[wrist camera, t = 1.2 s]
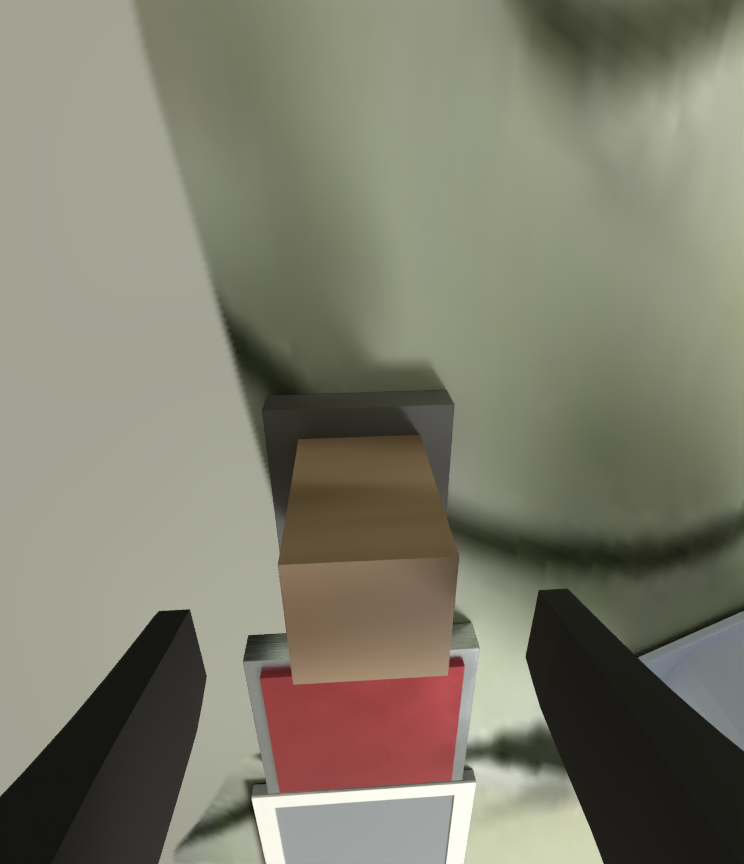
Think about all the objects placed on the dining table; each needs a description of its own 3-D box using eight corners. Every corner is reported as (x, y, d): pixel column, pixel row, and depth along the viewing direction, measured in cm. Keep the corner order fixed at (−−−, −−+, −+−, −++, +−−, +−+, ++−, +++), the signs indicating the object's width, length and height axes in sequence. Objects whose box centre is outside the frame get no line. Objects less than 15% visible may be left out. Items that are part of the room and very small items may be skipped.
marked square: (457, 873, 30) (459, 885, 29) (275, 887, 29) (274, 900, 29) (473, 769, 25) (475, 782, 24) (253, 784, 24) (251, 798, 24)
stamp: (437, 530, 18) (484, 699, 12) (284, 536, 17) (256, 713, 12) (446, 388, 15) (512, 515, 9) (267, 394, 15) (221, 528, 9)
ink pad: (456, 753, 24) (463, 787, 23) (271, 765, 23) (267, 801, 22) (472, 623, 20) (481, 654, 18) (248, 635, 19) (241, 668, 18)
